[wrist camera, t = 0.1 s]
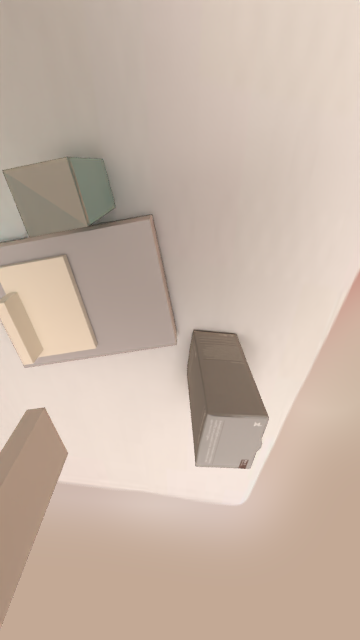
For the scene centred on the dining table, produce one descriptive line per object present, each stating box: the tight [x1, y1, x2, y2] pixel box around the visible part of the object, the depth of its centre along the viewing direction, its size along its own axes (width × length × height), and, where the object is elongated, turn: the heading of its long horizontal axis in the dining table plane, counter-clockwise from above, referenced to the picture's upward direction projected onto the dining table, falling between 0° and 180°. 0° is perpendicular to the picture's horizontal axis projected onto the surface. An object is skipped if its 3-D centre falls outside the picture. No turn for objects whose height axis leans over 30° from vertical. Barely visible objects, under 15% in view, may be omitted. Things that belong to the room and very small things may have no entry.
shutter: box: [0, 254, 98, 365], centre depth 35 cm, size 12×8×4 cm, turn 10°
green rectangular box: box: [2, 157, 115, 237], centre depth 29 cm, size 5×5×12 cm
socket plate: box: [0, 214, 177, 368], centre depth 38 cm, size 16×21×4 cm
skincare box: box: [187, 331, 269, 469], centre depth 38 cm, size 8×7×16 cm
